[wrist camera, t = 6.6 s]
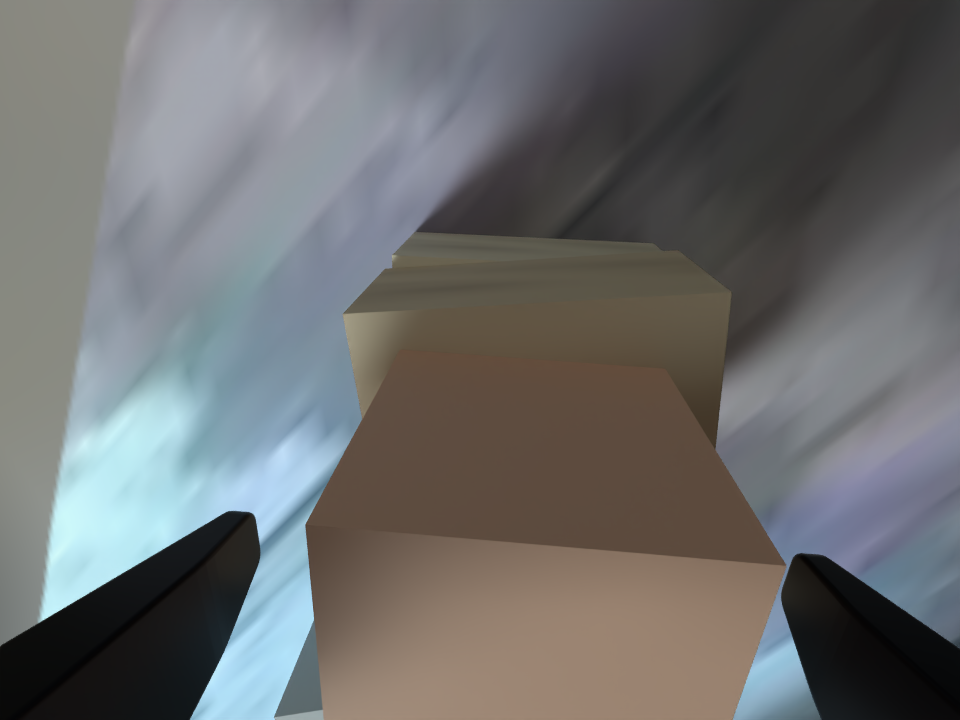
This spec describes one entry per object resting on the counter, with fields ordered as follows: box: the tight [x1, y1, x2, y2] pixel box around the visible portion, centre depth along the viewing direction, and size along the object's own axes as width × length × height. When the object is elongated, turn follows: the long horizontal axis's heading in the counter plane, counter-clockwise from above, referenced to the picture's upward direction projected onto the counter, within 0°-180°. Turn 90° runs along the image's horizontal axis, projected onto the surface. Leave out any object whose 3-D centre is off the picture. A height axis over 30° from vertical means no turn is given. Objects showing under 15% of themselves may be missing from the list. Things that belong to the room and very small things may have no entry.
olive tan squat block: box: [392, 232, 662, 268], centre depth 16 cm, size 7×7×4 cm
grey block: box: [274, 621, 324, 720], centre depth 21 cm, size 5×5×5 cm
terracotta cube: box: [305, 350, 786, 720], centre depth 9 cm, size 5×5×5 cm
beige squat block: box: [343, 250, 732, 449], centre depth 13 cm, size 7×7×4 cm
